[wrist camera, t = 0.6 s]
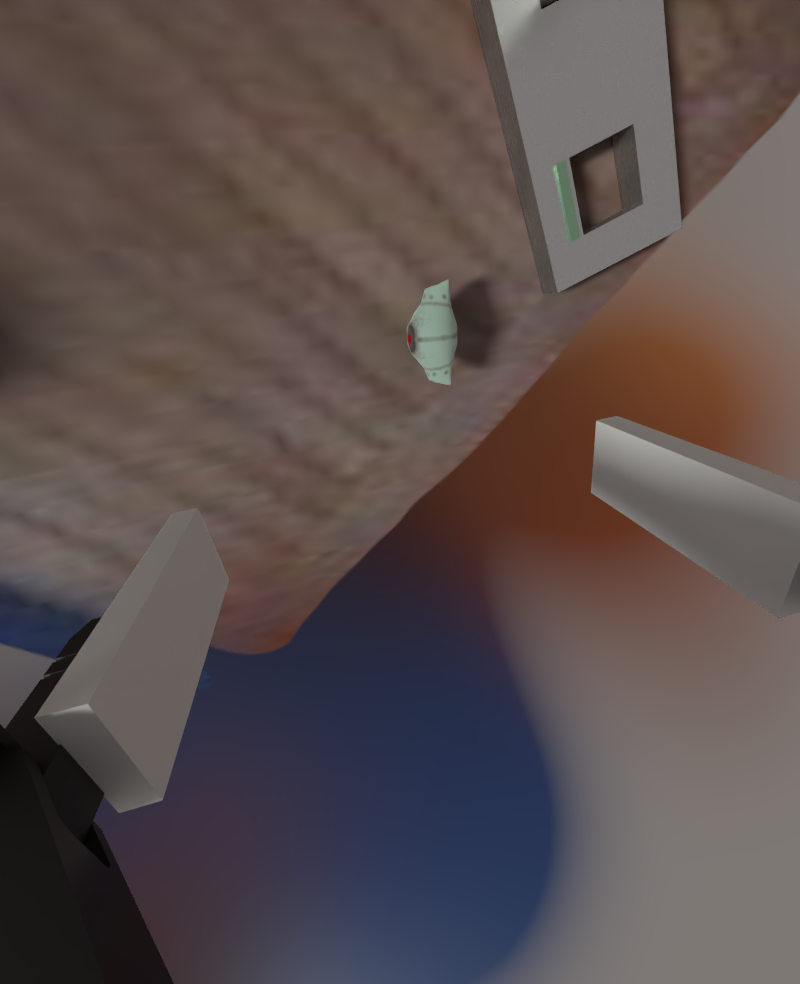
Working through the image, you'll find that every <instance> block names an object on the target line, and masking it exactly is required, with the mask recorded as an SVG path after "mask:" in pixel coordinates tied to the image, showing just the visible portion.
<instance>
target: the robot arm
mask: <svg viewBox="0 0 800 984" xmlns="http://www.w3.org/2000/svg"><path fill="white" fill-rule="evenodd" d="M591 493H593V494H594V495H596V496H597V497H599V498H600V499H601V500H603V501H605V502H606V503H608V504H609V505H611V506H612V507H613V508H615V509H617V510H618V511H619V512H621V513H622V514H624V515H625V516H627V517H628V518H630V519H631V520H633V521H634V522H636V523H637V524H639V525H640V526H642V527H643V528H645V529H646V530H648V531H649V532H651V533H652V534H654V535H655V536H656V537H658V538H659V539H661V540H663V541H664V542H666V543H667V544H668V545H670V546H672V547H673V548H674V549H676V550H678V551H679V552H680V553H682V554H683V555H685V556H686V557H688V558H689V559H691V560H692V561H694V562H695V563H697V564H698V565H700V566H701V567H703V568H704V569H706V570H707V571H709V572H710V573H712V574H713V575H714V576H716V577H717V578H719V579H720V580H722V581H723V582H725V583H726V584H728V585H730V586H731V587H732V588H734V589H735V590H737V591H738V592H740V593H741V594H743V595H744V596H746V597H747V598H749V599H750V600H752V601H753V602H755V603H756V604H758V605H759V606H761V607H762V608H764V609H765V610H767V611H768V612H769V613H771V614H773V615H774V616H775V617H777V618H781V617H784V616H787V615H791V614H794V613H798V612H800V483H799V482H797V481H794V480H791V479H788V478H785V477H783V476H780V475H777V474H774V473H771V472H769V471H766V470H764V469H761V468H758V467H755V466H753V465H750V464H747V463H744V462H742V461H739V460H736V459H733V458H731V457H728V456H725V455H722V454H720V453H717V452H714V451H711V450H708V449H706V448H703V447H701V446H698V445H695V444H692V443H690V442H687V441H684V440H681V439H679V438H676V437H673V436H670V435H667V434H665V433H662V432H659V431H657V430H654V429H651V428H649V427H646V426H643V425H640V424H638V423H635V422H632V421H629V420H627V419H624V418H621V417H618V416H615V417H611V418H606V419H601V420H597V421H596V434H595V447H594V460H593V474H592V487H591ZM228 581H229V578H228V576H227V574H226V571H225V569H224V567H223V565H222V562H221V560H220V558H219V555H218V553H217V551H216V548H215V546H214V544H213V542H212V539H211V537H210V535H209V532H208V530H207V528H206V526H205V523H204V521H203V519H202V516H201V514H200V512H199V509H198V508H195V509H190V510H186V511H181V512H176V513H172V514H171V515H170V517H169V518H168V520H167V521H166V523H165V524H164V525H163V527H162V528H161V530H160V531H159V533H158V534H157V536H156V537H155V539H154V540H153V542H152V543H151V545H150V546H149V548H148V549H147V551H146V552H145V554H144V555H143V557H142V558H141V560H140V561H139V563H138V564H137V566H136V567H135V569H134V570H133V572H132V573H131V575H130V576H129V578H128V579H127V581H126V582H125V584H124V585H123V587H122V588H121V590H120V591H119V592H118V594H117V595H116V597H115V598H114V600H113V601H112V603H111V604H110V606H109V607H108V609H107V610H106V612H105V613H104V615H103V616H102V617H101V618H97V619H93V620H91V621H90V622H89V623H88V624H86V625H85V626H84V627H83V628H82V629H81V630H80V631H79V632H77V633H76V634H75V635H74V636H73V637H72V638H71V639H70V640H69V641H68V643H67V644H66V645H65V647H64V648H63V650H62V651H61V652H60V654H59V655H58V656H57V658H56V662H54V663H52V665H51V666H50V668H49V669H48V670H47V672H46V673H45V674H44V679H43V680H40V681H39V683H38V684H37V686H36V687H35V688H34V690H33V691H32V692H31V694H30V695H29V697H28V698H27V700H26V701H25V702H24V703H23V705H22V706H21V708H20V709H19V710H18V712H17V713H16V715H15V716H14V717H13V719H12V720H11V722H10V723H9V724H8V726H7V727H6V728H5V729H4V728H3V727H2V726H1V724H0V984H174V983H173V981H172V978H171V976H170V974H169V972H168V970H167V968H166V966H165V964H164V961H163V959H162V957H161V955H160V953H159V951H158V949H157V946H156V944H155V942H154V940H153V938H152V936H151V934H150V932H149V929H148V928H147V925H146V923H145V921H144V919H143V917H142V914H141V912H140V910H139V908H138V906H137V904H136V902H135V899H134V897H133V895H132V894H131V891H130V889H129V887H128V885H127V882H126V880H125V878H124V876H123V874H122V872H121V870H120V868H119V865H118V863H117V861H116V859H115V857H114V855H113V853H112V850H111V849H110V846H109V844H108V842H107V840H106V838H105V835H104V834H103V831H102V829H101V828H99V826H98V825H97V824H96V823H95V822H94V821H93V819H94V817H95V814H96V812H97V810H98V807H99V805H100V803H101V800H102V798H103V796H104V797H105V798H106V799H107V800H108V801H109V802H110V803H111V805H112V806H113V807H114V808H115V809H116V810H117V811H118V812H119V813H121V812H124V811H127V810H131V809H134V808H138V807H141V806H145V805H148V804H151V803H155V802H158V801H162V800H163V797H164V794H165V790H166V787H167V783H168V780H169V777H170V774H171V770H172V767H173V764H174V761H175V757H176V754H177V751H178V747H179V744H180V741H181V737H182V734H183V731H184V727H185V724H186V721H187V717H188V714H189V711H190V707H191V704H192V701H193V697H194V694H195V691H196V688H197V684H198V681H199V678H200V674H201V671H202V668H203V664H204V661H205V657H206V654H207V651H208V648H209V644H210V641H211V638H212V634H213V631H214V628H215V624H216V621H217V618H218V614H219V611H220V608H221V605H222V601H223V598H224V595H225V591H226V588H227V585H228Z"/></svg>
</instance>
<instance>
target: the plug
mask: <svg viewBox="0 0 800 984" xmlns="http://www.w3.org/2000/svg"><path fill="white" fill-rule="evenodd" d="M553 1H555V0H540V5H541V8H542V7H543V6H545V5H547V4H549V3H551V2H553Z"/></svg>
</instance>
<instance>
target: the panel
mask: <svg viewBox="0 0 800 984" xmlns="http://www.w3.org/2000/svg"><path fill="white" fill-rule="evenodd" d="M471 4H472V8H473V12H474V16H475V20H476V24H477V28H478V32H479V36H480V40H481V44H482V48H483V52H484V56H485V61H486V65H487V69H488V73H489V77H490V81H491V85H492V89H493V93H494V97H495V101H496V105H497V109H498V113H499V117H500V121H501V125H502V129H503V134H504V138H505V142H506V146H507V150H508V154H509V158H510V162H511V166H512V170H513V174H514V178H515V182H516V186H517V190H518V194H519V198H520V202H521V206H522V211H523V215H524V219H525V223H526V227H527V231H528V235H529V239H530V243H531V247H532V251H533V255H534V259H535V263H536V267H537V271H538V275H539V279H540V284H541V288H542V292H543V294H548V293H559V292H561V291H563V290H565V289H566V288H568V287H570V286H572V285H574V284H576V283H578V282H580V281H582V280H584V279H586V278H588V277H589V276H591V275H593V274H595V273H597V272H599V271H601V270H603V269H605V268H607V267H609V266H611V265H612V264H614V263H616V262H618V261H620V260H622V259H624V258H626V257H628V256H630V255H632V254H634V253H635V252H637V251H639V250H641V249H643V248H645V247H647V246H649V245H651V244H653V243H655V242H657V241H658V240H660V239H662V238H664V237H666V236H668V235H670V234H672V233H674V232H676V231H678V230H679V229H681V228H682V222H681V210H680V198H679V186H678V174H677V161H676V149H675V137H674V125H673V113H672V101H671V89H670V77H669V65H668V52H667V40H666V28H665V16H664V4H663V0H558V1H556V2H554V3H552V4H551V5H549V6H547V7H545V8H543V9H541V5H540V0H471ZM611 136H612V142H613V149H614V156H615V163H616V170H617V177H618V184H619V191H620V198H621V205H622V211H620V212H618V213H616V214H614V215H613V216H611V217H609V218H607V219H605V220H603V221H601V222H599V223H597V224H595V225H593V226H592V227H590V228H588V229H586V230H584V231H583V229H582V224H581V218H580V213H579V208H578V202H577V197H576V192H575V186H574V181H573V176H572V170H571V165H570V160H569V158H571V157H573V156H575V155H577V154H579V153H581V152H583V151H584V150H586V149H588V148H590V147H592V146H594V145H596V144H598V143H600V142H602V141H603V140H605V139H607V138H609V137H611Z"/></svg>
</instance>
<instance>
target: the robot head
mask: <svg viewBox="0 0 800 984" xmlns="http://www.w3.org/2000/svg"><path fill="white" fill-rule="evenodd" d="M407 341H408V348H409V350H410V352H411V354H412V355H413V356H414V357H415V358H416V360H417V361H418V362H419V363H420V364H421V365H422V366H423V368H424V369H425V372H426V374H427V376H428V379H429V380H431V381H434V382H437V383H442V384H447V385H451V370H452V363H453V358H454V354H455V350H456V347H457V323H456V320H455V317H454V314H453V310H452V305H451V301H450V292H449V282H448V280H445V281H443V282H441V283H438V284H436V285H434V286H431V287H429V288H427V289H425V291H424V294H423V298H422V302H421V304H420V306H419V307H418V308H417V310H416V311H415V312H414V314H413V316H412V318H411V320H410V322H409V324H408V326H407Z"/></svg>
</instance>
